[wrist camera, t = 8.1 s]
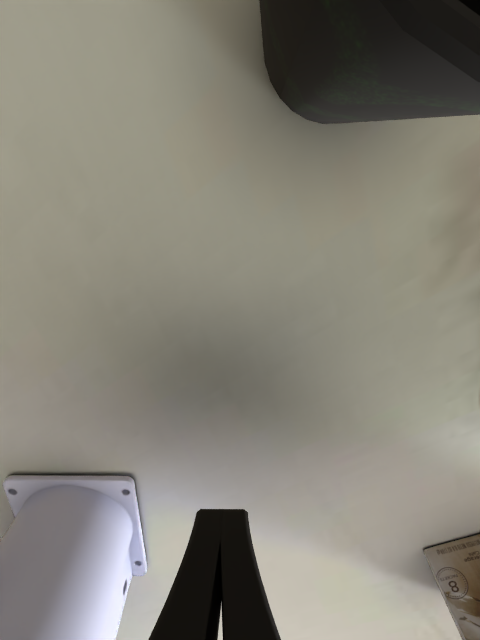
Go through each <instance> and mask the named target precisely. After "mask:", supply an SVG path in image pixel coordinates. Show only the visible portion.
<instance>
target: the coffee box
mask: <svg viewBox="0 0 480 640" xmlns="http://www.w3.org/2000/svg"><path fill="white" fill-rule="evenodd" d="M424 554H425V557H426V559H427V561H428V563H429V566H430V568H431V570H432V573H433V575H434V578H435V580H436V582H437V584H438V587H439V589H440V591H441V593H442V596H443V598H444V600H445V602H446V604H447V607H448V609H449V611H450V613H451V615H452V618H453V620H454V622H455V624H456V626H457V629H458V631H459V633H460V635H461V637H462V640H480V534H478V535H475V536H471V537H467V538H464V539H460V540H456V541H453V542H449V543H445V544H442V545H438V546H434V547H431V548H428V549H425V550H424Z"/></svg>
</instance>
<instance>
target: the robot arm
mask: <svg viewBox="0 0 480 640" xmlns="http://www.w3.org/2000/svg"><path fill="white" fill-rule="evenodd" d="M3 487H4V490H5V493H6V495H7V498H8V501H9V503H10V506H11V509H12V512H13V514H14V517H15V519H14V521H13V522H12V524H11V525H10V527H9V528H8V530H7V532H6V533H5V535H4V536H3V538H2V539H1V541H0V640H115V639H116V635H117V631H118V627H119V623H120V620H121V616H122V612H123V608H124V604H125V600H126V597H127V593H128V589H129V585H130V581H131V577H132V576H143V575H145V574H146V572H147V561H146V554H145V548H144V541H143V535H142V529H141V522H140V516H139V509H138V503H137V496H136V490H135V483H134V480H133V479H132V478H131V477H129V476H43V475H11V476H8V477H6V479H5V480H4V481H3ZM221 600H222V627H223V640H281V639H280V636H279V633H278V630H277V627H276V624H275V621H274V618H273V615H272V612H271V609H270V606H269V603H268V600H267V596H266V593H265V590H264V586H263V583H262V580H261V576H260V573H259V569H258V565H257V561H256V557H255V553H254V549H253V544H252V539H251V534H250V528H249V521H248V512H247V511H245V510H244V509H200V510H199V511H198V512H197V514H196V518H195V522H194V526H193V530H192V533H191V536H190V540H189V543H188V546H187V549H186V551H185V554H184V557H183V560H182V563H181V565H180V568H179V570H178V573H177V575H176V578H175V580H174V583H173V585H172V588H171V590H170V593H169V595H168V598H167V600H166V602H165V605H164V607H163V609H162V611H161V614H160V616H159V618H158V620H157V622H156V625H155V627H154V629H153V631H152V633H151V636H150V638H149V640H217V638H218V628H219V619H220V610H221Z"/></svg>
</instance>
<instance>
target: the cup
mask: <svg viewBox="0 0 480 640" xmlns="http://www.w3.org/2000/svg"><path fill="white" fill-rule="evenodd" d="M259 1H260V13H261V26H262V38H263V49H264V60H265V65H266V68H267V71H268V75H269V78H270V81H271V83H272V85H273V87H274V88H275V90H276V92H277V93H278V95H279V97H280V98H281V99H282V101H283V102H284V103H285V104H286V105H287V106H288V107H289V108H290V109H291V110H292V111H294V112H295V113H297V114H299V115H300V116H302V117H304V118H305V119H307V120H311V121H315V122H318V123H322V124H328V123H351V122H367V121H382V120H398V119H414V118H430V117H446V116H462V115H478V114H480V0H259Z"/></svg>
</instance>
